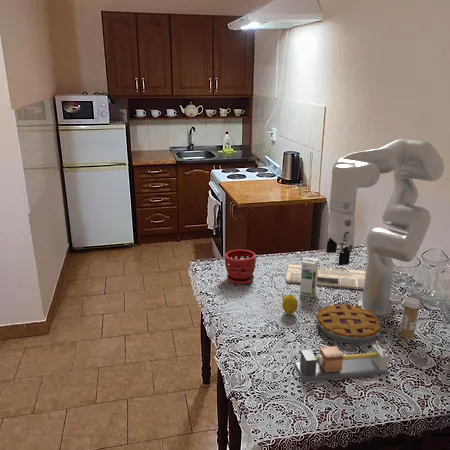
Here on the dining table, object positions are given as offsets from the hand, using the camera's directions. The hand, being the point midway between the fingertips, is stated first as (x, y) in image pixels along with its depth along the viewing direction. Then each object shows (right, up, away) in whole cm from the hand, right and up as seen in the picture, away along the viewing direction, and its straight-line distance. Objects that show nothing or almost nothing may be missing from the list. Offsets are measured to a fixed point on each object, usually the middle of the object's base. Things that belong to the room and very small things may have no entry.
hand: (337, 258), depth 134 cm
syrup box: (-2, -17, +38) cm, 42 cm away
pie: (+7, -26, +14) cm, 30 cm away
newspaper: (+11, -13, +53) cm, 56 cm away
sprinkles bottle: (+26, -27, +10) cm, 39 cm away
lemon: (-12, -22, +23) cm, 34 cm away
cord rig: (-1, -32, -8) cm, 33 cm away
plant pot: (-29, -13, +50) cm, 59 cm away
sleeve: (-4, -31, -9) cm, 32 cm away
